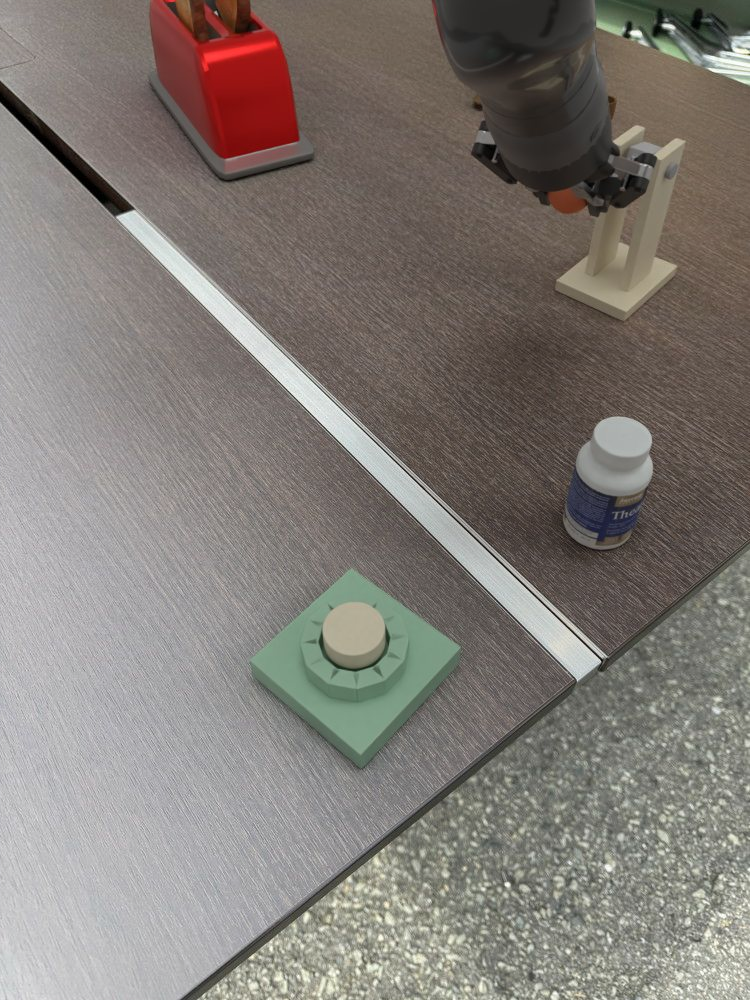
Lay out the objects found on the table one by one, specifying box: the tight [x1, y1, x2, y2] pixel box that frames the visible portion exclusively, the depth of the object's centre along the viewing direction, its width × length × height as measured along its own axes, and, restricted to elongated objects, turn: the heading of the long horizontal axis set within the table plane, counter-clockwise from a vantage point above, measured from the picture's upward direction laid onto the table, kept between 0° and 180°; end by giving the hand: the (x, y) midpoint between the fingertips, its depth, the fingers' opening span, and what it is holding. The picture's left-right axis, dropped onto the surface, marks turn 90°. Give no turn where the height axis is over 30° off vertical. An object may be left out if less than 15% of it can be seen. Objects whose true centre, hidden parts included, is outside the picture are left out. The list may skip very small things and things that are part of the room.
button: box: [322, 602, 385, 669], centre depth 54 cm, size 4×4×2 cm
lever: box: [548, 141, 663, 215], centre depth 72 cm, size 16×4×4 cm, turn 138°
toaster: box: [147, 0, 315, 181], centre depth 104 cm, size 32×13×19 cm, turn 26°
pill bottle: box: [562, 415, 654, 550], centre depth 62 cm, size 5×5×10 cm
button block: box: [248, 567, 462, 770], centre depth 56 cm, size 10×10×4 cm
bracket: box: [554, 124, 687, 323], centre depth 80 cm, size 10×8×15 cm
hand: (573, 198), depth 70 cm, fingers closed on lever, 3 cm apart
